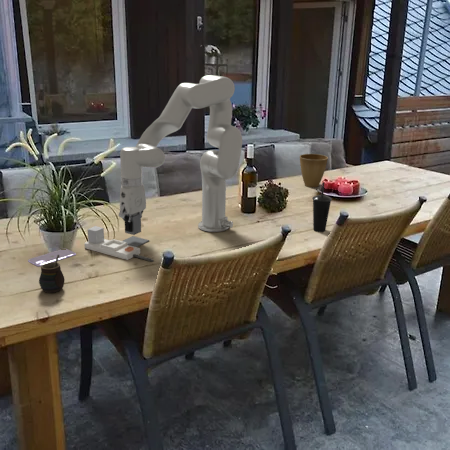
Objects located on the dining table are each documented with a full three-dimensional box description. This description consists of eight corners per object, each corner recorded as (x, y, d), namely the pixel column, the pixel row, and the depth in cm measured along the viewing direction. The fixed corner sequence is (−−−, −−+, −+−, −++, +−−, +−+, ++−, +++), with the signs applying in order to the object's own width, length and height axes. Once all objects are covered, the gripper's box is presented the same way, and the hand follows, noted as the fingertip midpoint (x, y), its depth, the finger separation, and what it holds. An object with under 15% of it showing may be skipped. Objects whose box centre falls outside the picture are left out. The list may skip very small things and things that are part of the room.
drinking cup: (330, 228, 214) (334, 181, 207) (327, 234, 207) (331, 186, 200) (311, 226, 216) (315, 179, 209) (308, 231, 209) (312, 184, 202)
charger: (141, 231, 193) (140, 213, 191) (133, 235, 190) (133, 216, 187) (132, 229, 195) (131, 211, 193) (125, 232, 192) (124, 214, 189)
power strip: (159, 258, 180) (159, 239, 177) (146, 265, 174) (146, 246, 172) (98, 242, 193) (97, 224, 191) (84, 248, 187) (83, 230, 185)
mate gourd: (34, 293, 153) (31, 262, 150) (48, 283, 160) (45, 253, 157) (57, 296, 151) (54, 264, 148) (69, 285, 158) (67, 255, 155)
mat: (149, 241, 195) (149, 240, 195) (135, 247, 189) (135, 246, 189) (132, 236, 199) (132, 236, 199) (118, 243, 193) (118, 242, 192)
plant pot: (294, 182, 285) (296, 153, 280) (320, 182, 287) (323, 153, 282) (301, 189, 271) (303, 159, 266) (328, 189, 273) (331, 159, 268)
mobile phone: (77, 252, 181) (38, 265, 171) (77, 255, 182) (38, 268, 171) (65, 247, 186) (26, 259, 175) (65, 249, 186) (26, 261, 176)
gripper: (124, 188, 178) (126, 237, 184) (154, 178, 191) (155, 225, 197) (107, 184, 181) (110, 233, 187) (138, 175, 195) (139, 221, 201)
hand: (133, 228), depth 192 cm, fingers closed on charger, 4 cm apart
